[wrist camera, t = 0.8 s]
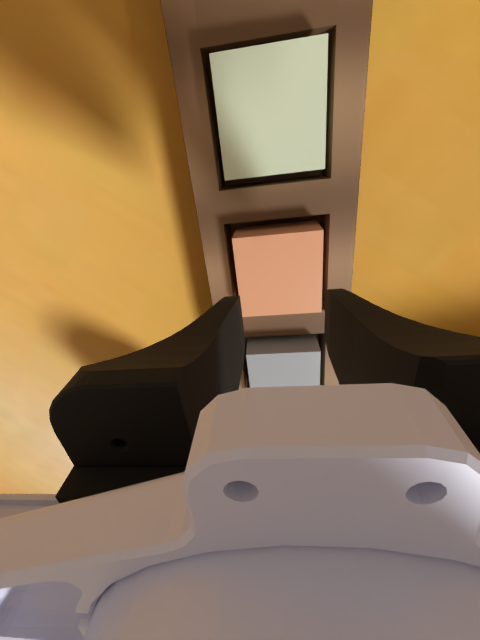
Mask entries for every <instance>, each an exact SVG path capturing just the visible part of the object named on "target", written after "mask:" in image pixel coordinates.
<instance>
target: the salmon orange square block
mask: <svg viewBox="0 0 480 640" xmlns="http://www.w3.org/2000/svg"><path fill="white" fill-rule="evenodd" d="M323 235H324V230H323V229H322V227H321V226H320V225H319V223H318V222H317V221H316V220H314V221H304V222H293V223H283V224H273V225H263V226H252V227H242V228H236V230H235V232H234V235H233V237H232V244H233V252H234V260H235V268H236V277H237V285H238V293H239V296H240V301H241V309H242V317H252V316H269V315H285V314H301V313H318V312H322V277H323Z"/></svg>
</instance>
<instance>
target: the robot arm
mask: <svg viewBox="0 0 480 640" xmlns="http://www.w3.org/2000/svg"><path fill="white" fill-rule="evenodd" d="M324 337H325V342H326V346H327V351H328V355H329V358H330V361H331V363H332V366H333V369H334V371H335V374H336V377H337V379H338V382H339V384H340V385H316V386H285V387H254V388H244V389H240V390H239V385H240V380H241V375H242V369H243V364H244V355H245V334H244V326H243V317H242V309H241V301H240V296H226V297H223V298H222V299H221V300H219V301H218V302H217V303H216V304H215V305H214V306H212V307H211V308H210V309H209V310H208V311H207V312H205V313H204V314H203V315H202V316H200V317H199V318H198V319H196V320H195V321H194V322H192V323H191V324H189V325H188V326H187V327H185V328H184V329H182V330H180V331H179V332H177V333H175V334H173V335H172V336H170V337H168V338H166V339H164V340H162V341H160V342H157V343H155V344H153V345H151V346H149V347H146V348H144V349H141V350H139V351H136V352H133V353H130V354H127V355H124V356H121V357H118V358H114V359H111V360H107V361H103V362H99V363H95V364H91V365H87V366H82V367H81V368H80V369H79V371H78V372H77V373H76V374H75V375H74V376H73V377H72V379H71V380H70V381H69V382H68V383H67V384H66V386H65V387H64V388H63V389H62V390H61V391H60V393H59V394H58V395H57V396H56V397H55V398H54V400H53V401H52V404H51V406H50V409H49V415H50V422H51V425H52V427H53V429H54V432H55V434H56V436H57V437H58V439H59V441H60V442H61V444H62V446H63V447H64V449H65V451H66V453H67V454H68V456H69V458H70V459H71V461H72V463H73V464H74V467H73V469H72V470H71V472H70V473H69V475H68V477H67V478H66V480H65V482H64V483H63V485H62V486H61V488H60V490H59V491H58V493H57V494H0V640H480V337H477V336H471V335H466V334H461V333H456V332H452V331H448V330H444V329H440V328H436V327H432V326H428V325H425V324H422V323H419V322H416V321H413V320H410V319H407V318H404V317H401V316H399V315H396V314H394V313H392V312H389V311H387V310H385V309H383V308H381V307H379V306H376V305H374V304H372V303H370V302H369V301H367V300H365V299H363V298H361V297H359V296H357V295H355V294H353V293H352V292H350V291H348V290H345V289H343V288H340V289H326V290H325V324H324Z"/></svg>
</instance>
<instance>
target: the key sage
mask: <svg viewBox="0 0 480 640" xmlns="http://www.w3.org/2000/svg"><path fill="white" fill-rule="evenodd" d="M209 56H210V64H211V72H212V81H213V89H214V97H215V105H216V113H217V121H218V130H219V138H220V146H221V154H222V162H223V170H224V179H225V181H226V180H235V179H243V178H252V177H260V176H269V175H277V174H286V173H294V172H303V171H311V170H320V169H325V153H326V111H327V69H328V33H326V34H320V35H314V36H308V37H302V38H297V39H291V40H285V41H279V42H273V43H267V44H261V45H256V46H250V47H244V48H238V49H232V50H226V51H220V52H214V53H209Z"/></svg>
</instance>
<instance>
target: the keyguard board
mask: <svg viewBox="0 0 480 640" xmlns="http://www.w3.org/2000/svg"><path fill="white" fill-rule="evenodd" d="M160 1H161V7H162V13H163V19H164V25H165V31H166V36H167V42H168V48H169V54H170V60H171V66H172V71H173V77H174V83H175V89H176V95H177V100H178V106H179V112H180V118H181V124H182V130H183V135H184V141H185V147H186V153H187V159H188V165H189V170H190V176H191V182H192V188H193V194H194V200H195V205H196V211H197V217H198V223H199V229H200V235H201V240H202V246H203V252H204V258H205V264H206V269H207V275H208V281H209V287H210V293H211V299H212V304H213V306H214V305H215V304H216V303H217V302H218V301H219V300H221V299H222V298H223V297H226V296H239V293H238V285H237V277H236V268H235V260H234V252H233V244H232V237H233V235H234V232H235V230H236V228H242V227H252V226H263V225H273V224H283V223H293V222H304V221H314V220H316V221H317V222H318V223H319V225H320V226H321V227H322V229H323V230H324V235H323V277H322V312H318V313H301V314H285V315H269V316H252V317H243V326H244V334H245V355H244V364H243V369H242V375H241V380H240V385H239V390H240V389H244V388H250V383H249V375H248V367H247V358H246V351H247V341H248V337H262V336H280V335H299V334H316V336H317V340H318V344H319V347H320V351H321V360H320V385H340V384H339V382H338V379H337V377H336V374H335V371H334V369H333V366H332V363H331V361H330V358H329V355H328V351H327V346H326V342H325V337H324V324H325V290H326V289H340V288H343V289H345V290H348V291H350V292H351V286H352V273H353V260H354V246H355V233H356V219H357V206H358V193H359V179H360V166H361V152H362V139H363V126H364V112H365V99H366V85H367V72H368V59H369V45H370V32H371V18H372V5H373V0H160ZM326 33H328V69H327V111H326V153H325V169H320V170H311V171H303V172H294V173H286V174H277V175H269V176H260V177H252V178H243V179H235V180H226V181H225V179H224V170H223V162H222V154H221V146H220V138H219V130H218V121H217V113H216V105H215V97H214V89H213V81H212V72H211V64H210V56H209V53H214V52H220V51H226V50H232V49H238V48H244V47H250V46H256V45H261V44H267V43H273V42H279V41H285V40H291V39H297V38H302V37H308V36H314V35H320V34H326Z"/></svg>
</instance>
